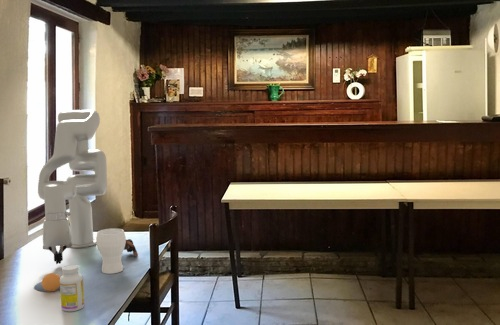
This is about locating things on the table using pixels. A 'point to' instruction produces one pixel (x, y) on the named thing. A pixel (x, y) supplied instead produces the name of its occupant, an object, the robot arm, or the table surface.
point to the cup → (111, 249)
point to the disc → (40, 288)
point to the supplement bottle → (71, 289)
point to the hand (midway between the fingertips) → (58, 262)
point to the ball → (51, 282)
